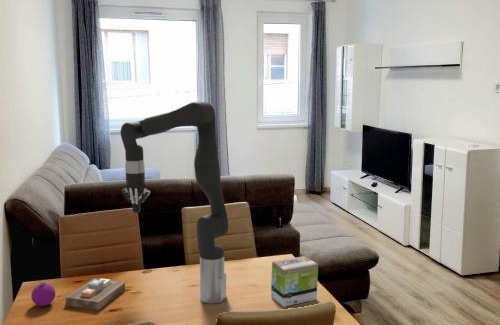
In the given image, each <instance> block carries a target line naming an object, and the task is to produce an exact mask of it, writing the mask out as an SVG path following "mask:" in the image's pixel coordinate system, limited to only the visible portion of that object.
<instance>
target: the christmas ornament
mask: <svg viewBox="0 0 500 325" xmlns="http://www.w3.org/2000/svg"><path fill="white" fill-rule="evenodd" d="M30 297H31V300H32V302H33V303H34V304H35V305H36V306H38V307H46V306H48V305H50V304H51V303H52V302H53V301H54V299H55V298H56V290H55V287H54V286H53V285H51V284H50V283H47V282H46V281H45V280H43V279H42V280H41V281H40V282H39V284H38V285H35V287H34V288H33V289H32V292H31V296H30Z"/></svg>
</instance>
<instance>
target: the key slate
mask: <svg viewBox="0 0 500 325" xmlns="http://www.w3.org/2000/svg"><path fill="white" fill-rule="evenodd" d="M93 279H94V278H93ZM90 281H91V280H90ZM87 283H88V282H87ZM88 288H94V289H97V293H98V292H100V291H101V290H103V289H104V281H102V280H95V279H94V280H93V281H91V282H90V283H88Z"/></svg>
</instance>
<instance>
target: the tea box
mask: <svg viewBox="0 0 500 325" xmlns="http://www.w3.org/2000/svg"><path fill="white" fill-rule="evenodd" d="M271 262H272V264H271V280H270V281H271V284H270V286H271V287H270V297H271V298H272V299H273V300H274V301H275V302H277V303H278V304H279V305H280V306H281V307H283V308H286V307H289V306H292V305H298V304H302V303H306V302H312V301H317V296H318V281H319V280H318V277H319V276H318V275H319V264H318V263H316V262H315V261H313V260H311V259H310V258H309V257H307V256H304V255H302V256H297V257H292V258H286V259H282V260H280V259H279V260H276V261H271Z"/></svg>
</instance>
